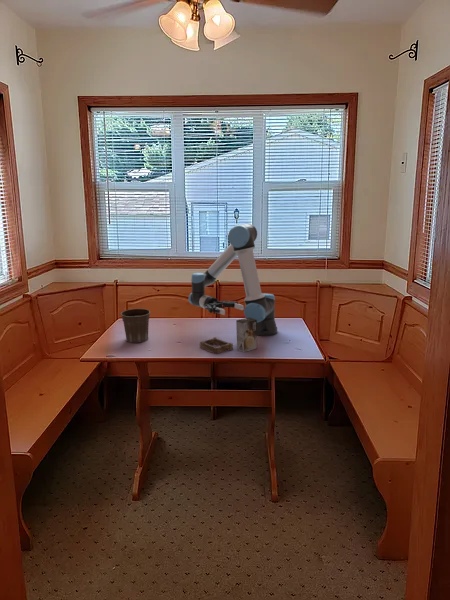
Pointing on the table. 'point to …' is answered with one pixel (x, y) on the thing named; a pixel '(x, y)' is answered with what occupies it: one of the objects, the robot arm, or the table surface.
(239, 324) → the coffee box
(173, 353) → the table surface
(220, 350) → the brown open rectangular frame
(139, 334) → the plant pot
